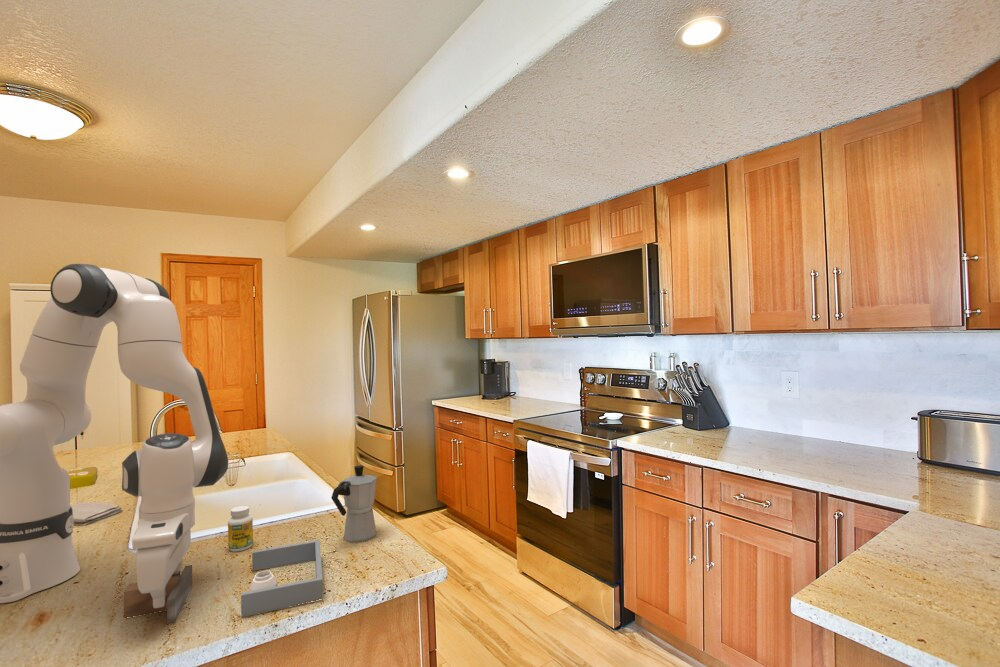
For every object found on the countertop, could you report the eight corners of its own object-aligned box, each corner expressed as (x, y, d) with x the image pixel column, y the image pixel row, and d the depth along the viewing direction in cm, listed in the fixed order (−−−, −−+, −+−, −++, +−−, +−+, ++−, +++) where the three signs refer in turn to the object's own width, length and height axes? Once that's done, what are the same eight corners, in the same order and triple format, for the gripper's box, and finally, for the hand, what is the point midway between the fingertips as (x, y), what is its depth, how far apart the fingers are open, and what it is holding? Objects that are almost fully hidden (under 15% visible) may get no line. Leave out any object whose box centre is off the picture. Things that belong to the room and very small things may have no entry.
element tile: (97, 477, 184) (97, 464, 184) (94, 486, 172) (94, 473, 172) (44, 484, 175) (44, 471, 175) (37, 495, 163) (37, 481, 163)
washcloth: (86, 528, 132) (86, 517, 133) (32, 525, 135) (32, 514, 135) (126, 512, 144) (126, 502, 144) (76, 510, 147) (76, 500, 147)
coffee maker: (366, 524, 130) (365, 458, 130) (390, 530, 126) (389, 462, 126) (321, 544, 117) (320, 472, 117) (345, 552, 113) (344, 476, 113)
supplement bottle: (251, 540, 120) (251, 503, 121) (254, 548, 116) (253, 509, 116) (227, 546, 118) (226, 507, 118) (229, 554, 113) (228, 514, 113)
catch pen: (241, 617, 87) (240, 595, 87) (252, 569, 105) (252, 551, 105) (322, 600, 92) (322, 579, 92) (320, 557, 111) (319, 539, 111)
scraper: (112, 636, 82) (112, 607, 82) (138, 596, 95) (138, 571, 95) (175, 623, 86) (174, 595, 86) (192, 586, 98) (192, 562, 99)
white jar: (244, 592, 96) (261, 597, 94) (243, 577, 96) (261, 582, 94) (265, 580, 101) (282, 584, 99) (264, 566, 101) (282, 570, 99)
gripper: (164, 505, 99) (164, 571, 99) (128, 544, 80) (128, 625, 80) (199, 501, 102) (199, 565, 102) (172, 538, 83) (172, 617, 83)
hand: (167, 592), depth 91 cm, fingers open, 8 cm apart
